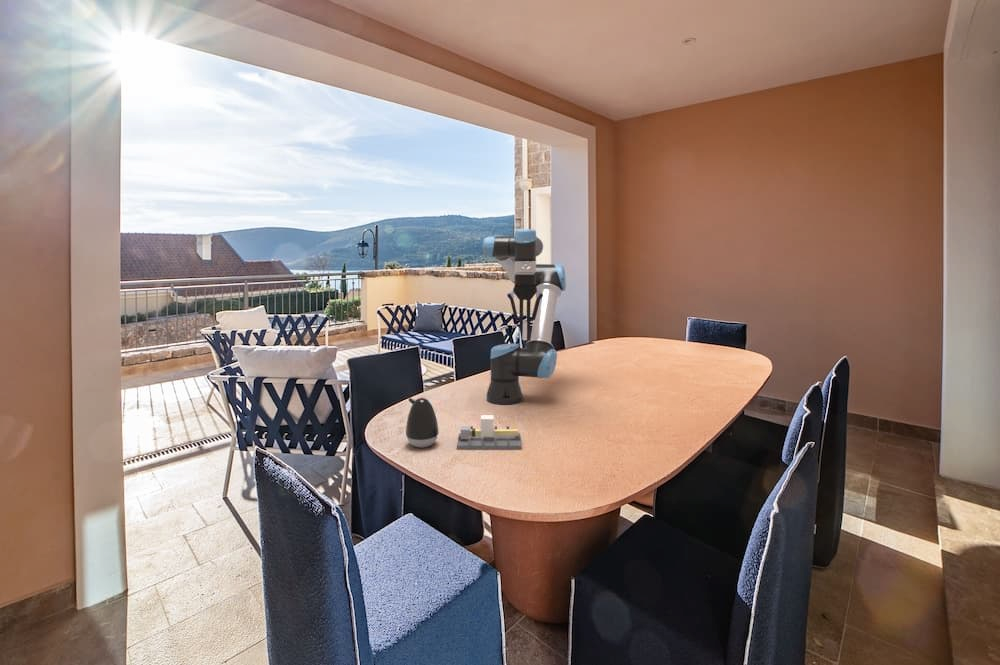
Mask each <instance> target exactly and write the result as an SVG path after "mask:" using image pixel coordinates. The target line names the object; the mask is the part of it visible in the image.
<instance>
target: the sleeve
mask: <svg viewBox="0 0 1000 665" xmlns="http://www.w3.org/2000/svg"><path fill="white" fill-rule="evenodd" d="M494 418H495V417H494V414H481V416H480V429H481V437H493V436H494V429H495V425H494V424H495V423H494Z"/></svg>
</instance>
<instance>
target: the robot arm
mask: <svg viewBox="0 0 1000 665" xmlns="http://www.w3.org/2000/svg"><path fill="white" fill-rule="evenodd" d="M543 249H544V243H543V241H542V240H541V239H540V238H539V237H538V236H537V231H536V230H535V229H532V228H531V229H530V228H518V229H516V230H515V232H514V236H487V237H484V239H483V240H482V253H483V255H484V257H487V258H494V259H496V261H497V262H498V263H499V265H500V266H501V267H502V268H503V270H504V271H505V273H506V276H507V278H508V279H509V281H511V283H513V284H514V285H513V286H514V287H513V288H512V291H511V292H509V293H507V294H506V295H507V297H508V299H509V300H510V305H511V309H512V312H513V313H512V314H513V318H514V320H515V321H518V322H519V328H518V329H519V331H522V341H527V340H528V332H529V331H531V334H530V340H528V341H527V342H526V343H525V347H520V345H519V343H504V344H502V343H501V344H498V345H495V346H493V347H492V348H491V350H490V357H489V358H490V382H489V386H488V389H487V392H486V401H487V402H489V403H491V404H496V405H514V404H518V403H521V402H522V401H523V400H524V399H523V398H524V396H523V392H522V388H521V385H520V382H519V377H524V378H525V377H527V378H539V379H548V378H551V377H552V376H553V374H554V372H555V369H556V365H557V359H558V352H557V350H556V349H555V347H554V345H553V344H552V336H553V330H554V325H555V324H554V322H555V315H556V308H557V301H558V298H559V297H560V296H561V295H562V292H563V291H566V289H567V283H566V281H567V280H566V279H567V278H566V271H565V267H564V266H563V265H562V264H560V263H559V264H558V263H557V264H556V263H552V264H551V263H549V264H548V263H546V264H543V263H539V264H538V263H537V257H538V256H540V255H541V254H542V253H543ZM515 296H516V297H517V299H518V300H519V308H518V309H519V312H517V308H516V304H515V300H514V298H515ZM534 297H535V303H534V307H533V310H532V313H531V300H532V299H533V298H534ZM524 300H525V301H526V320H524ZM518 313H519V316H518ZM531 314H532V315H531ZM531 322H532V327H531Z"/></svg>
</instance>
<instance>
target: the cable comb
mask: <svg viewBox="0 0 1000 665" xmlns="http://www.w3.org/2000/svg"><path fill="white" fill-rule="evenodd" d="M473 427H474V426H473V425H469V426H468V425H461V428H460V432H459V433H458V438H457V443H456V450H522V448H523V447H522V438H521V433H520V432H519V429H517V428H516V429H515V428H514V429H511V428H510V425H506V429H505V428H504V429H501V428H500V429H498V425H494V436H493V437H481V428H479V429H478V428H473Z"/></svg>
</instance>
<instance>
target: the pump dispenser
mask: <svg viewBox="0 0 1000 665" xmlns="http://www.w3.org/2000/svg"><path fill="white" fill-rule="evenodd" d="M408 402H410V404H411V407H410V409H409V413H408V416H407V420H406V426H405V436H406V438H407V441H408V442H409V444H411V445H412V447H415V448H419V449H423V448H428V447H431V446H432V445H433V444H434V443H435V442H436V441H437V438H438V435H439V423H438V419H437V415H436V413H435V409H434V407H433V405H432V404H431V402H430V400H429V399H427V398H424V397H419V398H417V399H416V400H414V399H413V398H411V397H409V398H408Z"/></svg>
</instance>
